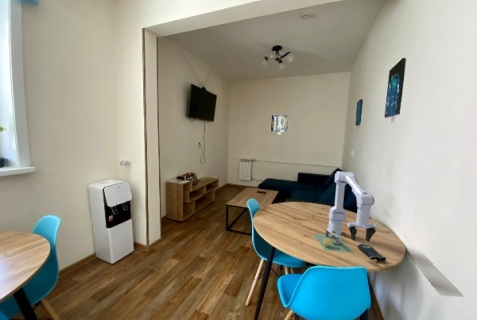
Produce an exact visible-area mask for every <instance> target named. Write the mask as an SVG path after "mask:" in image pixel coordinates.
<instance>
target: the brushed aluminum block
mask: <svg viewBox="0 0 477 320" xmlns="http://www.w3.org/2000/svg"><path fill="white" fill-rule="evenodd" d="M329 239H335V241H336V242H331V243H332V244H333V245H342V242H341V241H340V240H339V239H338V238H336V237H329Z"/></svg>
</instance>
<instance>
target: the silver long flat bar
mask: <svg viewBox="0 0 477 320" xmlns="http://www.w3.org/2000/svg"><path fill="white" fill-rule="evenodd" d="M328 235H334V236H336V237H340V239H342V238H343V235H342V234H339V235H338V234H335V233H332V232H329V233H328Z"/></svg>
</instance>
